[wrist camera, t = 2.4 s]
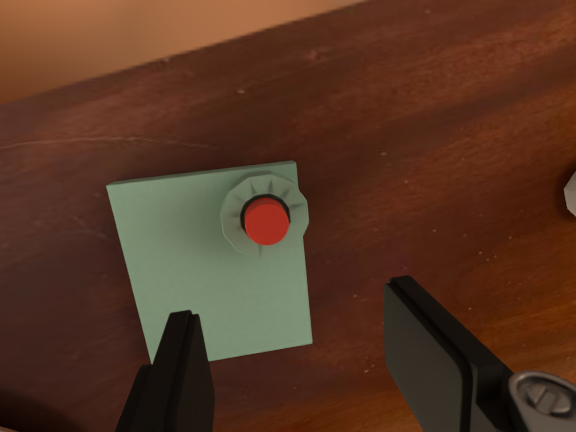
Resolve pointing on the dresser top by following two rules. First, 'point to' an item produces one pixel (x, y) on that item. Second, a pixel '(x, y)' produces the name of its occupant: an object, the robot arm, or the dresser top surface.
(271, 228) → the button
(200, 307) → the green flat block
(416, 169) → the dresser top surface
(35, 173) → the dresser top surface
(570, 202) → the salt shaker
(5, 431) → the bowl
